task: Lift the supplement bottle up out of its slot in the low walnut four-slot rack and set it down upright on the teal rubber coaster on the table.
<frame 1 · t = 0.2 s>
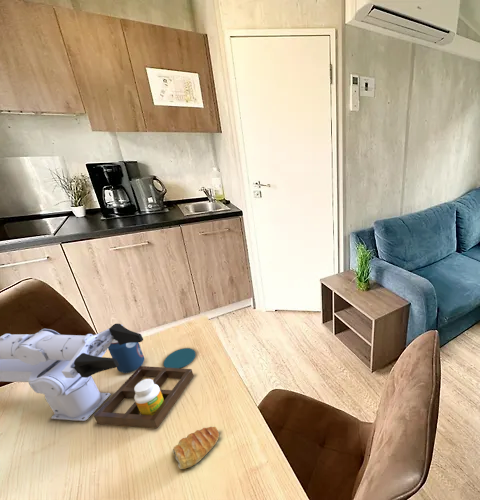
hand: (129, 349, 66), 21 cm above the table, tool horizontal, fingers open, 7 cm apart
soda can: (132, 366, 89), on the table
rack: (149, 398, 79), on the table
supplement bottle: (154, 411, 75), resting in rack
pastry: (195, 450, 66), on the table
coaster: (180, 358, 92), on the table
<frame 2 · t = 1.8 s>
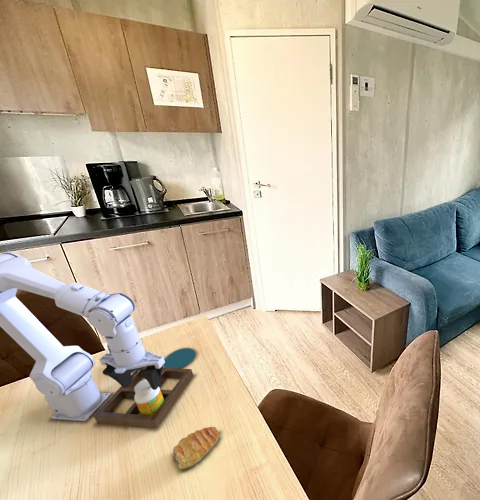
hand: (142, 385, 71), 10 cm above the table, tool pointing down, fingers open, 7 cm apart
nothing on the table moved.
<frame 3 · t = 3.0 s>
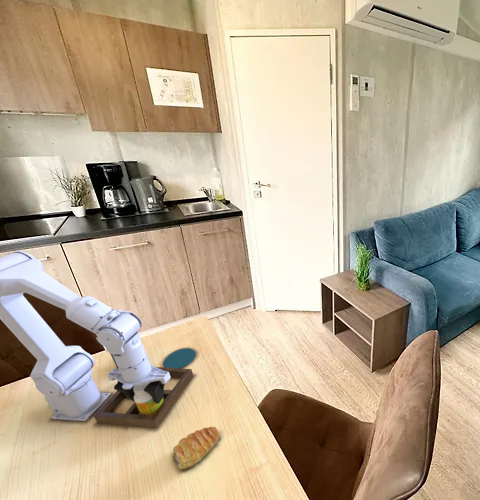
hand: (148, 399, 73), 5 cm above the table, tool pointing down, fingers closed on supplement bottle, 5 cm apart
supplement bottle: (154, 411, 75), resting in rack, touching gripper
everything else where it was.
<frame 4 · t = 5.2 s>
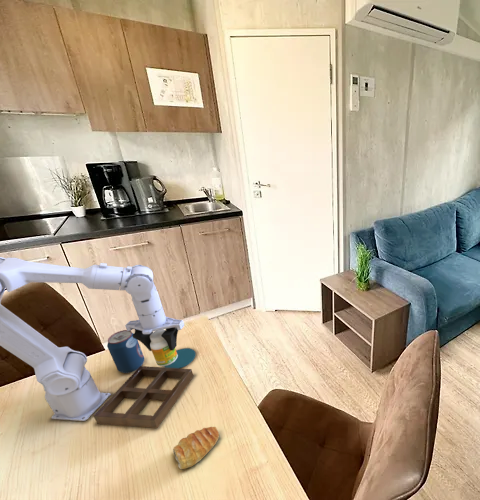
hand: (163, 348, 82), 10 cm above the table, tool pointing down, fingers closed on supplement bottle, 5 cm apart
supplement bottle: (167, 360, 84), point 6 cm above the table, touching gripper
everything else where it was.
when the fingers open (5 cm above the table, at t = 7.6 s): supplement bottle stays where it is, resting on coaster.
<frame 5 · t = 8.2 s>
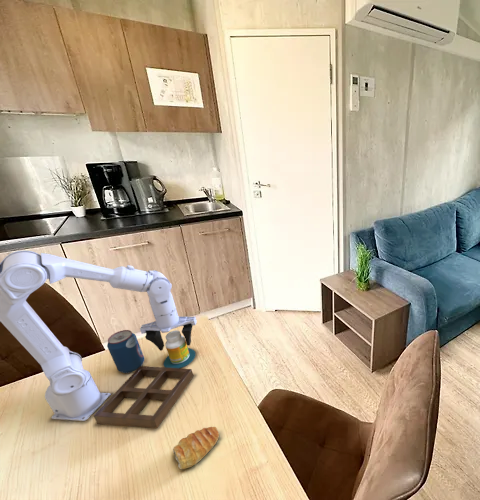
hand: (175, 345, 89), 6 cm above the table, tool pointing down, fingers open, 7 cm apart
supplement bottle: (180, 358, 92), resting on coaster
everything else where it was.
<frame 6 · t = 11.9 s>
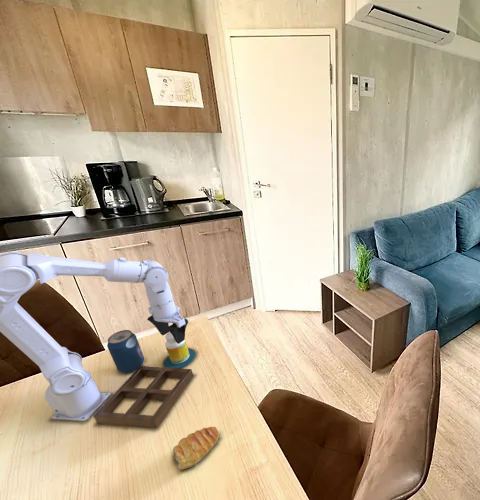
hand: (173, 337, 88), 9 cm above the table, tool pointing down, fingers open, 7 cm apart
nothing on the table moved.
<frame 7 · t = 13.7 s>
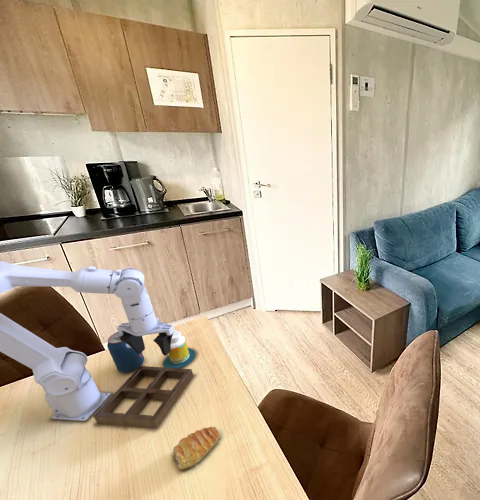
hand: (154, 352, 80), 10 cm above the table, tool pointing down, fingers open, 7 cm apart
nothing on the table moved.
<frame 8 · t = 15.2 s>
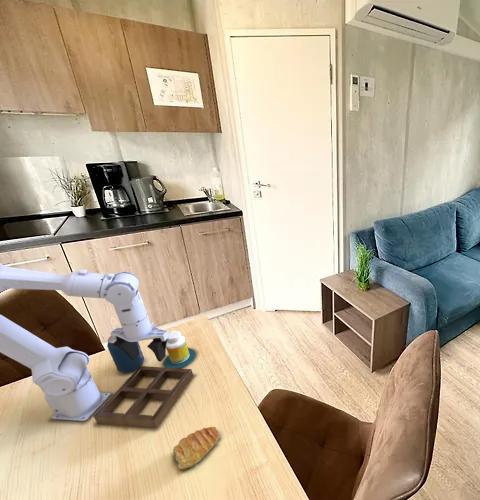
hand: (149, 358, 78), 10 cm above the table, tool pointing down, fingers open, 7 cm apart
nothing on the table moved.
at the end: supplement bottle 0.1 cm off-centre on the coaster, point 0.1 cm above the coaster's base; supplement bottle tilted 0°; supplement bottle moved 18.5 cm from its start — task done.
